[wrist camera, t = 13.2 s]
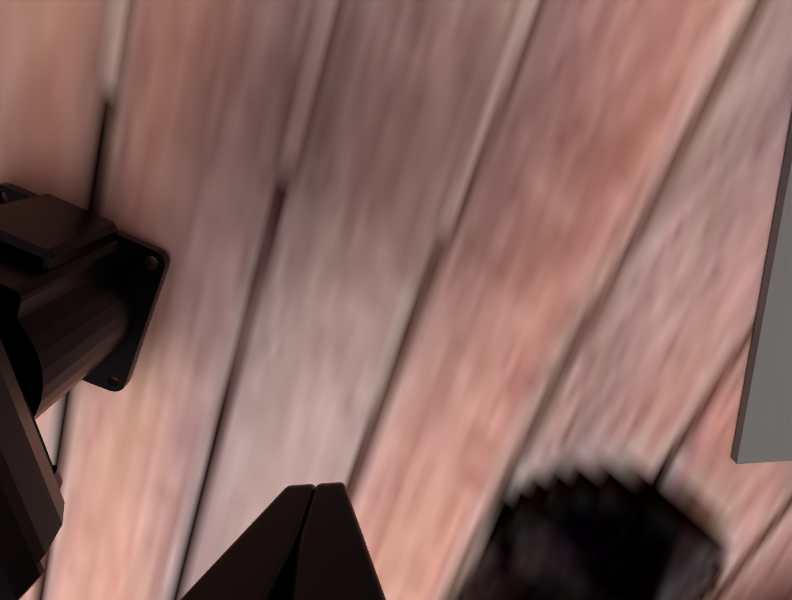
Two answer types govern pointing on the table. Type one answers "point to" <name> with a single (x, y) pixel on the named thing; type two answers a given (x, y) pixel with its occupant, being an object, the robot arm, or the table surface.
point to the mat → (771, 345)
